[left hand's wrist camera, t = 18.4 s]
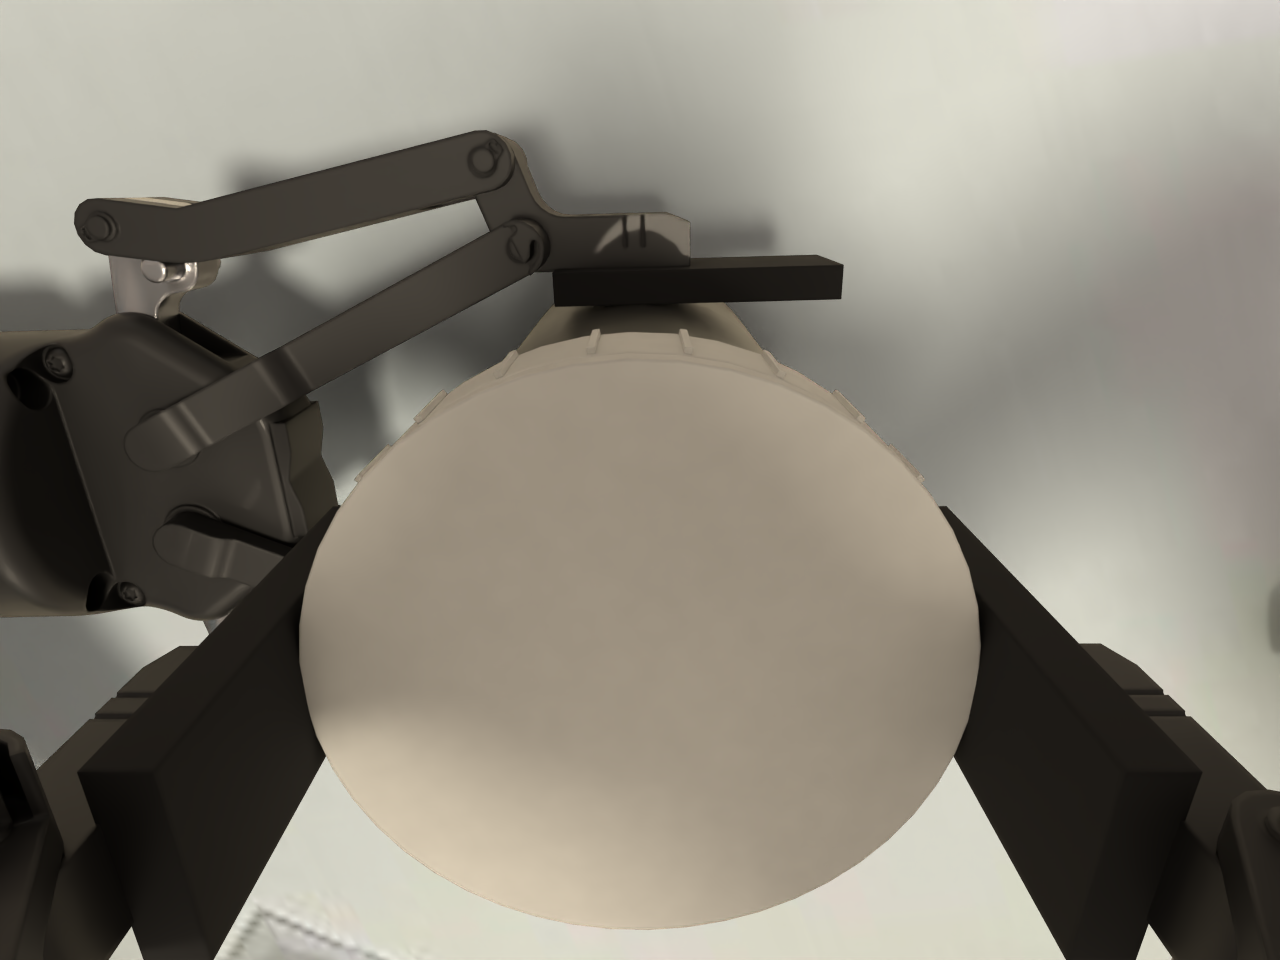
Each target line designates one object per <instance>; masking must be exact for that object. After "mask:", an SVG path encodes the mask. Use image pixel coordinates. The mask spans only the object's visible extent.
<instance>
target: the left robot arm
mask: <svg viewBox="0 0 1280 960" xmlns="http://www.w3.org/2000/svg"><path fill="white" fill-rule="evenodd" d="M340 507H341V506H333V507H332V508H331V509H330V510H329V511H328V512H327V513H326V514H325V515H324V516H323V517H322V518H321V519H320V520H319V521H318V522H317V523H316V524H315V526H314V527H313V528H312V529H311V530H310V531H309V532H308V533H307V534H306V535H305V536H304V537H303V538H302V539H301V540H300V541H299V542H298V543H297V544H296V545H295V546H294V547H293V548H292V549H291V550H290V551H289V552H288V554H287V555H286V556H285V557H284V558H283V559H282V560H281V561H280V562H279V563H278V564H277V565H276V566H275V567H274V568H273V569H272V570H271V571H270V572H269V573H268V574H267V575H266V576H265V577H264V578H263V579H262V580H261V582H260V583H259V584H258V585H257V586H256V587H255V588H254V589H253V590H252V591H251V592H250V593H249V594H248V595H247V596H246V597H245V598H244V599H243V600H242V601H241V602H240V603H239V604H238V605H237V606H236V607H235V608H234V609H233V611H232V612H231V613H230V614H229V615H228V616H227V617H226V618H225V619H224V620H223V621H222V622H221V623H220V624H219V625H218V626H217V627H216V628H215V629H214V630H213V631H212V632H211V633H210V634H209V635H208V636H207V637H206V639H205V640H204V641H203V642H202V643H201V644H200V645H199V646H179V647H177V648H175V649H174V650H172V651H170V652H169V653H167V654H165V655H164V656H162V657H160V658H158V659H157V660H155V661H153V662H152V663H150V664H148V665H147V666H145V667H143V668H142V669H141V670H140V671H139V672H138V673H137V674H136V675H135V676H134V677H133V678H132V679H131V680H130V681H129V682H128V683H127V684H126V685H124V686H123V687H122V688H121V689H120V690H119V691H118V692H117V697H116V698H111V699H110V700H109V701H108V702H107V703H106V704H105V705H104V706H103V707H102V708H101V709H100V710H99V711H98V712H96V713H95V718H94V719H89V720H88V721H87V722H86V723H85V724H84V725H83V726H82V727H81V728H80V729H79V730H78V731H77V732H76V733H75V734H74V735H73V736H72V737H71V738H70V739H69V740H67V741H66V742H65V743H64V744H63V745H62V746H61V747H60V748H59V749H58V750H57V751H56V752H55V753H54V754H53V755H52V756H51V757H50V758H49V759H48V760H47V761H46V762H45V763H44V764H43V765H42V766H41V767H39V768H38V769H37V770H36V768H35V766H34V763H33V761H32V758H31V755H30V753H29V750H28V747H27V745H26V742H25V740H24V738H23V737H22V736H20V735H18V734H17V733H15V732H13V731H12V730H6V729H0V960H109V958H110V957H111V955H112V954H113V952H114V951H115V950H116V948H117V947H118V945H119V944H120V942H121V941H122V939H123V938H124V936H125V935H126V934H127V932H128V931H129V929H130V928H131V926H132V928H133V931H134V934H135V937H136V940H137V942H138V945H139V948H140V951H141V954H142V956H143V959H144V960H214V958H215V956H216V954H217V953H218V951H219V949H220V947H221V945H222V944H223V942H224V940H225V938H226V936H227V934H228V933H229V931H230V929H231V927H232V925H233V924H234V922H235V920H236V918H237V916H238V915H239V913H240V911H241V909H242V907H243V906H244V904H245V902H246V900H247V898H248V896H249V895H250V893H251V891H252V889H253V887H254V886H255V884H256V882H257V880H258V878H259V877H260V875H261V873H262V871H263V869H264V867H265V866H266V864H267V862H268V860H269V858H270V857H271V855H272V853H273V851H274V849H275V848H276V846H277V844H278V842H279V840H280V839H281V837H282V835H283V833H284V831H285V829H286V828H287V826H288V824H289V822H290V820H291V819H292V817H293V815H294V813H295V811H296V810H297V808H298V806H299V804H300V802H301V801H302V799H303V797H304V795H305V793H306V791H307V790H308V788H309V786H310V784H311V782H312V781H313V779H314V777H315V775H316V773H317V772H318V770H319V768H320V766H321V764H322V762H323V761H324V759H325V757H326V754H325V752H324V750H323V748H322V746H321V744H320V742H319V740H318V738H317V736H316V733H315V730H314V727H313V724H312V720H311V717H310V713H309V708H308V704H307V699H306V694H305V689H304V684H303V679H302V673H301V668H300V663H299V623H300V617H301V611H302V604H303V598H304V592H305V586H306V583H307V580H308V577H309V574H310V571H311V568H312V565H313V562H314V559H315V556H316V553H317V550H318V547H319V545H320V543H321V541H322V540H323V538H324V536H325V534H326V532H327V530H328V528H329V526H330V524H331V522H332V520H333V518H334V516H335V514H336V512H337V511H338V509H339V508H340ZM938 507H939V508H940V510H941V512H942V513H943V515H944V517H945V518H946V520H947V521H948V523H949V525H950V526H951V528H952V529H953V531H954V534H955V536H956V539H957V541H958V543H959V545H960V548H961V551H962V553H963V555H964V558H965V560H966V563H967V565H968V567H969V571H970V575H971V579H972V584H973V588H974V592H975V596H976V600H977V605H978V614H979V627H980V641H981V650H980V662H979V670H978V675H977V681H976V686H975V691H974V696H973V701H972V705H971V710H970V715H969V720H968V723H967V725H966V728H965V730H964V733H963V735H962V737H961V740H960V742H959V745H958V747H957V750H956V752H955V754H954V758H955V760H956V762H957V763H958V765H959V767H960V769H961V771H962V772H963V774H964V776H965V778H966V780H967V781H968V783H969V785H970V787H971V789H972V790H973V792H974V794H975V796H976V798H977V800H978V801H979V803H980V805H981V807H982V809H983V810H984V812H985V814H986V816H987V818H988V819H989V821H990V823H991V825H992V827H993V829H994V830H995V832H996V834H997V836H998V838H999V839H1000V841H1001V843H1002V845H1003V847H1004V848H1005V850H1006V852H1007V854H1008V856H1009V857H1010V859H1011V861H1012V863H1013V865H1014V867H1015V868H1016V870H1017V872H1018V874H1019V876H1020V877H1021V879H1022V881H1023V883H1024V885H1025V886H1026V888H1027V890H1028V892H1029V894H1030V896H1031V897H1032V899H1033V901H1034V903H1035V905H1036V906H1037V908H1038V910H1039V912H1040V914H1041V915H1042V917H1043V919H1044V921H1045V923H1046V924H1047V926H1048V928H1049V930H1050V932H1051V934H1052V935H1053V937H1054V939H1055V941H1056V943H1057V944H1058V946H1059V948H1060V950H1061V952H1062V953H1063V955H1064V957H1065V959H1066V960H1136V958H1137V955H1138V952H1139V949H1140V946H1141V944H1142V941H1143V938H1144V935H1145V932H1146V930H1147V927H1148V924H1150V926H1151V927H1152V929H1153V930H1154V932H1155V933H1156V935H1157V936H1158V937H1159V939H1160V940H1161V942H1162V943H1163V945H1164V946H1165V948H1166V949H1167V950H1168V952H1169V953H1170V955H1171V956H1172V959H1171V960H1280V792H1278V791H1273V790H1267V789H1266V788H1265V787H1264V786H1263V785H1262V784H1261V783H1260V782H1259V781H1258V780H1257V779H1256V778H1254V777H1253V776H1252V775H1251V774H1250V773H1249V772H1248V771H1247V770H1246V769H1245V768H1244V767H1243V766H1242V765H1241V764H1240V763H1239V762H1238V761H1237V760H1236V759H1235V758H1234V757H1233V756H1232V755H1230V754H1229V753H1228V752H1227V751H1226V750H1225V749H1224V748H1223V747H1222V746H1221V745H1220V744H1219V743H1218V742H1217V741H1216V740H1215V739H1214V738H1213V737H1212V736H1211V735H1210V734H1209V733H1208V732H1206V731H1205V730H1204V729H1203V728H1202V727H1201V726H1200V725H1199V724H1198V723H1197V722H1196V721H1195V720H1194V719H1193V718H1192V717H1191V716H1186V715H1185V710H1184V709H1182V708H1181V707H1180V706H1179V705H1178V704H1177V703H1176V702H1175V701H1174V700H1173V699H1172V698H1171V697H1170V696H1169V695H1164V694H1163V689H1162V688H1161V687H1160V686H1158V685H1157V684H1156V683H1155V682H1154V681H1153V680H1152V679H1151V678H1150V677H1149V676H1148V675H1147V674H1146V673H1145V672H1144V671H1143V670H1142V669H1141V668H1140V667H1139V666H1138V665H1136V664H1135V663H1133V662H1131V661H1129V660H1128V659H1126V658H1124V657H1123V656H1121V655H1119V654H1117V653H1116V652H1114V651H1112V650H1111V649H1109V648H1107V647H1105V646H1104V645H1102V644H1079V643H1078V642H1077V641H1076V640H1075V639H1074V638H1073V637H1072V636H1071V635H1070V634H1069V633H1068V632H1067V631H1066V630H1065V629H1064V628H1063V627H1062V626H1061V625H1060V624H1059V622H1058V621H1057V620H1056V619H1055V618H1054V617H1053V616H1052V615H1051V614H1050V613H1049V612H1048V611H1047V610H1046V609H1045V608H1044V607H1043V606H1042V605H1041V604H1040V603H1039V602H1038V601H1037V600H1036V599H1035V598H1034V597H1033V596H1032V594H1031V593H1030V592H1029V591H1028V590H1027V589H1026V588H1025V587H1024V586H1023V585H1022V584H1021V583H1020V582H1019V581H1018V580H1017V579H1016V578H1015V577H1014V576H1013V575H1012V574H1011V573H1010V572H1009V571H1008V570H1007V569H1006V568H1005V566H1004V565H1003V564H1002V563H1001V562H1000V561H999V560H998V559H997V558H996V557H995V556H994V555H993V554H992V553H991V552H990V551H989V550H988V549H987V548H986V547H985V546H984V545H983V544H982V543H981V542H980V541H979V540H978V538H977V537H976V536H975V535H974V534H973V533H972V532H971V531H970V530H969V529H968V528H967V527H966V526H965V525H964V524H963V523H962V522H961V521H960V520H959V519H958V518H957V517H956V516H955V515H954V514H953V513H952V512H951V511H950V509H949V508H948V507H947V506H938Z"/></svg>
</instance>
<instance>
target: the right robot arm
mask: <svg viewBox="0 0 1280 960" xmlns="http://www.w3.org/2000/svg"><path fill="white" fill-rule="evenodd" d="M472 199H476V201H477V203H478V205H479V208H480V210H481V212H482V214H483V217H484V219H485V221H486V223H487V225H488V228H489V230H490V232H488V233H486V234H485V235H483V236H481V237H479V238H477V239H476V240H474V241H472V242H470V243H468V244H466V245H465V246H463V247H461V248H459V249H457V250H456V251H454V252H452V253H450V254H448V255H447V256H445V257H443V258H441V259H439V260H437V261H436V262H434V263H432V264H430V265H428V266H427V267H425V268H423V269H421V270H419V271H417V272H416V273H414V274H412V275H410V276H408V277H407V278H405V279H403V280H401V281H399V282H398V283H396V284H394V285H392V286H390V287H388V288H387V289H385V290H383V291H381V292H379V293H378V294H376V295H374V296H372V297H370V298H369V299H367V300H365V301H363V302H361V303H359V304H358V305H356V306H354V307H352V308H350V309H349V310H347V311H345V312H343V313H341V314H339V315H338V316H336V317H334V318H332V319H330V320H329V321H327V322H325V323H323V324H321V325H320V326H318V327H316V328H314V329H312V330H310V331H309V332H307V333H305V334H303V335H301V336H300V337H298V338H296V339H294V340H292V341H291V342H289V343H287V344H285V345H283V346H281V347H279V348H277V349H276V350H274V351H272V352H270V353H268V354H266V355H264V356H262V357H260V358H257V357H256V356H254V355H252V354H250V353H249V352H247V351H245V350H244V349H242V348H240V347H239V346H237V345H235V344H234V343H232V342H230V341H229V340H227V339H225V338H224V337H222V336H220V335H219V334H217V333H215V332H214V331H212V330H210V329H209V328H207V327H205V326H204V325H202V324H200V323H199V322H197V321H195V320H194V319H192V318H190V317H189V316H187V315H185V314H184V313H182V312H179V305H180V301H181V299H182V297H183V296H184V295H185V293H186V292H188V291H191V290H195V289H199V288H204V287H207V286H209V285H211V284H212V283H213V282H214V281H215V279H216V277H217V275H218V270H219V268H220V266H221V260H220V259H222V258H228V257H234V256H240V255H246V254H252V253H258V252H263V251H269V250H273V249H277V248H281V247H285V246H289V245H293V244H297V243H301V242H305V241H309V240H313V239H317V238H321V237H325V236H329V235H333V234H337V233H341V232H345V231H349V230H353V229H357V228H361V227H365V226H369V225H373V224H377V223H381V222H385V221H389V220H393V219H397V218H401V217H405V216H409V215H412V214H416V213H420V212H424V211H428V210H432V209H436V208H440V207H444V206H448V205H452V204H456V203H460V202H464V201H468V200H472ZM74 225H75V228H76V231H77V233H78V236H79V237H80V238H81V240H82V241H83V242H84V244H85V245H86V246H88V247H89V248H91V249H92V250H93V251H95V252H97V253H101V254H104V255H108V256H109V263H110V270H111V278H112V285H113V293H114V300H115V307H116V314H115V315H112V316H110V317H108V318H106V319H104V320H102V321H101V322H100V323H98V324H97V325H96V326H95V327H93V328H91V329H81V330H44V331H8V332H0V617H43V616H82V615H92V614H99V613H106V612H111V611H117V610H122V609H128V608H134V607H142V606H150V607H156V608H160V609H164V610H167V611H170V612H173V613H176V614H178V615H180V616H183V617H185V618H188V619H192V620H198V621H203V622H204V624H205V626H206V628H207V630H208V633H209V634H210V633H211V632H212V631H213V630H214V629H215V628H216V627H217V626H218V625H219V624H220V623H221V622H222V621H223V620H224V619H225V618H226V617H227V616H228V615H229V614H230V613H231V612H232V611H233V609H234V608H235V607H236V606H237V605H238V604H239V603H240V602H241V601H242V600H243V599H244V598H245V597H246V596H247V595H248V594H249V593H250V592H251V591H252V590H253V589H254V588H255V587H256V586H257V585H258V584H259V583H260V582H261V580H262V579H263V578H264V577H265V576H266V575H267V574H268V573H269V572H270V571H271V570H272V569H273V568H274V567H275V566H276V565H277V564H278V563H279V562H280V561H281V560H282V559H283V558H284V557H285V556H286V555H287V554H288V552H289V551H290V550H291V549H292V548H293V547H294V546H295V545H296V544H297V543H298V542H299V541H300V540H301V539H302V538H303V537H304V536H305V535H306V534H307V533H308V532H309V531H310V530H311V529H312V528H313V527H314V526H315V524H316V523H317V522H318V521H319V520H320V519H321V518H322V517H323V516H324V515H325V514H326V513H327V512H328V511H329V510H330V509H331V508H332V507H333V506H341V505H338V502H337V497H336V491H335V486H334V481H333V479H332V477H331V475H330V473H329V471H328V469H327V467H326V465H325V462H324V460H323V458H322V456H321V448H322V437H323V424H322V419H321V414H320V408H319V403H318V401H309V400H308V398H307V396H306V394H308V393H310V392H311V391H313V390H315V389H317V388H319V387H321V386H323V385H324V384H326V383H328V382H330V381H332V380H334V379H336V378H337V377H339V376H341V375H343V374H345V373H347V372H349V371H351V370H352V369H354V368H356V367H358V366H360V365H362V364H364V363H366V362H367V361H369V360H371V359H373V358H375V357H377V356H379V355H380V354H382V353H384V352H386V351H388V350H390V349H392V348H394V347H395V346H397V345H399V344H401V343H403V342H405V341H407V340H409V339H410V338H412V337H414V336H416V335H418V334H420V333H422V332H424V331H425V330H427V329H429V328H431V327H433V326H435V325H437V324H438V323H440V322H442V321H444V320H446V319H448V318H450V317H452V316H453V315H455V314H457V313H459V312H461V311H463V310H465V309H467V308H468V307H470V306H472V305H474V304H476V303H478V302H480V301H482V300H483V299H485V298H487V297H489V296H491V295H493V294H495V293H496V292H498V291H500V290H502V289H504V288H506V287H508V286H510V285H511V284H513V283H515V282H517V281H519V280H521V279H523V278H525V277H526V276H528V275H532V274H533V273H534V272H553V273H552V274H553V289H554V304H555V307H574V306H611V305H647V304H683V303H720V302H756V301H792V300H829V299H841V295H842V281H843V267H844V265H843V264H840V263H837V262H835V261H832V260H829V259H827V258H824V257H821V256H819V255H791V256H755V257H720V258H690V222H689V221H687V220H685V219H683V218H680V217H678V216H675V215H673V214H670V213H667V212H647V213H612V214H577V215H569V214H562V213H559V212H557V211H555V210H553V209H552V208H550V207H549V206H548V205H547V204H546V203H545V202H544V201H543V200H542V198H541V196H540V194H539V192H538V190H537V188H536V185H535V183H534V180H533V178H532V176H531V173H530V171H529V168H528V166H527V158H526V156H525V154H524V151H523V149H522V148H521V147H520V146H519V145H518V144H517V143H516V142H515V141H513V140H510V139H508V138H506V137H504V136H501V135H499V134H496V133H492V132H489V131H487V130H481V131H472V132H468V133H464V134H461V135H457V136H453V137H449V138H445V139H441V140H437V141H434V142H430V143H426V144H422V145H418V146H414V147H410V148H407V149H403V150H399V151H395V152H391V153H387V154H383V155H380V156H376V157H372V158H368V159H364V160H360V161H356V162H353V163H349V164H345V165H341V166H337V167H333V168H329V169H326V170H322V171H318V172H314V173H310V174H306V175H302V176H299V177H295V178H291V179H287V180H283V181H279V182H275V183H272V184H268V185H264V186H260V187H256V188H252V189H248V190H245V191H241V192H237V193H233V194H229V195H225V196H222V197H218V198H214V199H210V200H206V201H202V202H198V201H190V200H183V199H175V198H167V197H143V198H95V199H87V200H85V201H84V202H82V203H81V204H79V206H78V208H77V210H76V211H75V217H74Z"/></svg>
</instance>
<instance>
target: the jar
mask: <svg viewBox="0 0 1280 960" xmlns="http://www.w3.org/2000/svg"><path fill="white" fill-rule="evenodd" d="M594 329H600V334H601V335H604V334H614V333H624V332H642V333H671V334H679V330H680V329H686V330H687V331H688V334H689V336H691V337H697V338H703V339H709V340H715V341H719V342H723V343H726V344H729V345H732V346H736V347H739V348H742V349H745V350H749V351H752V352H755V353H758V354H762V351H763V350H762V349H761V347H760V346H759V345H758V344H757V342H756V341H755V340H754V338H753V337H752V336H751V334H750V333H749V332H748V330H747V329H746V328H745V326H744V325H743V324H742V322H741V321H740V320H739V319H738V317H737V316H736V315H735V314H734V312H733V311H732V310H731V309H730V308H729V307H728V306H727V305H726V304H725V303H724V302H720V303H683V304H647V305H611V306H574V307H555V304H554V305H552V306H551V308H550V309H549V310H548V311H547V312H546V313H545V315H544V316H543V317H542V318H541V319H540V321H539V322H538V323H537V324H536V326H535V327H534V328H533V330H532V331H531V332H530V334H529V335H528V336H527V338H526V339H525V340H524V342H523V343H522V344H521V345H520V347H519V348H518V349H517V353H518V355H520V354H523V353H526V352H528V351H531V350H533V349H536V348H539V347H541V346H546V345H550V344H554V343H558V342H563V341H567V340H571V339H576V338H580V337H584V336H590V335H591V333H592V330H594Z"/></svg>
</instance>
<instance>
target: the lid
mask: <svg viewBox="0 0 1280 960" xmlns="http://www.w3.org/2000/svg"><path fill="white" fill-rule="evenodd" d="M865 419H866V418H865V417H864V416H863V415H862V414H861V413H860V412H859V411H858V410H857V409H856V408H855V407H854V406H853V405H852V404H851V403H850V402H849V401H848V400H847V399H846V398H845V397H844V396H843V395H842V394H841V393H840V392H839V391H837V390H835V391H834V392H833V393H830V392H829V391H827V390H826V389H824V388H822V387H821V386H819V385H818V384H816V383H815V382H813V381H812V380H810V379H809V378H807V377H805V376H804V375H802V374H801V373H799V372H797V371H795V370H793V369H791V368H789V367H787V366H785V365H782V364H780V363H778V362H777V361H776V359H775V358H774V357H773V356H772V354H771V353H770V352H768V351H766V350H763V351H762V354H758V353H755V352H752V351H749V350H745V349H742V348H739V347H736V346H732V345H729V344H726V343H723V342H719V341H715V340H709V339H703V338H697V337H691V336H689V334H688V331H687V330H686V329H680V330H679V334H671V333H642V332H624V333H614V334H604V335H601V334H600V329H594V330H592V333H591V335H590V336H584V337H580V338H576V339H571V340H567V341H563V342H558V343H554V344H550V345H546V346H541V347H539V348H536V349H533V350H531V351H528V352H526V353H523V354H520V355H518V353H517V351H516V350H513V351H511V352H509V353H508V355H507V356H506V357H505V359H504V360H503V361H502V362H500V363H498V364H496V365H494V366H492V367H491V368H489V369H487V370H485V371H483V372H482V373H480V374H478V375H476V376H474V377H472V378H471V379H469V380H467V381H465V382H463V383H462V384H461V385H459V386H458V387H457V388H455V389H454V390H453V391H451V392H450V393H449V394H447V393H446V392H445V391H444V390H442V391H441V392H439V393H438V394H437V395H436V396H435V397H434V398H433V399H432V400H431V401H430V402H429V403H428V404H427V405H426V406H425V407H424V408H423V410H422V411H421V412H420V413H419V414H418V415H417V416H416V417H415V418H414V420H415V421H416V422H415V423H414V424H413V425H412V426H411V427H410V428H409V429H408V430H407V431H406V432H405V433H404V434H403V435H402V436H401V437H400V438H399V439H398V440H397V441H396V442H395V443H394V445H393V446H390V445H389V444H388V445H387V446H386V447H385V448H384V449H383V450H382V451H381V452H380V453H379V454H378V455H377V456H376V457H375V458H374V459H373V460H372V461H371V462H370V463H369V464H368V465H367V466H366V467H365V468H364V469H363V470H362V471H361V472H360V473H359V474H358V475H357V477H356V478H355V481H356V482H358V484H357V485H356V486H355V488H354V489H353V490H352V492H351V493H350V495H349V496H348V497H347V499H346V500H345V501H344V503H343V504H342V505H341V507H340V508H339V509H338V511H337V512H336V514H335V516H334V518H333V520H332V522H331V524H330V526H329V528H328V530H327V532H326V534H325V536H324V538H323V540H322V541H321V543H320V545H319V547H318V550H317V553H316V556H315V559H314V562H313V565H312V568H311V571H310V574H309V577H308V580H307V583H306V586H305V592H304V598H303V604H302V611H301V617H300V623H299V663H300V668H301V673H302V679H303V684H304V689H305V694H306V699H307V704H308V708H309V713H310V717H311V720H312V724H313V727H314V730H315V733H316V736H317V738H318V740H319V742H320V744H321V746H322V748H323V750H324V752H325V754H326V756H327V758H328V761H329V763H330V765H331V767H332V769H333V770H334V772H335V773H336V775H337V776H338V778H339V779H340V781H341V782H342V784H343V785H344V787H345V788H346V790H347V791H348V793H349V794H350V796H351V797H352V799H353V800H354V801H355V802H356V803H357V804H358V806H359V807H360V808H361V809H362V810H363V811H364V812H365V814H366V815H367V816H368V817H369V818H370V819H371V820H372V822H373V823H374V824H375V825H376V826H377V827H378V828H379V829H380V830H381V831H382V832H384V833H385V834H386V835H387V836H388V837H389V838H390V839H391V840H392V841H394V842H395V843H396V844H397V845H398V846H399V847H400V848H401V849H402V850H404V851H405V852H406V853H408V854H409V855H410V856H412V857H413V858H415V859H416V860H417V861H419V862H420V863H422V864H423V865H425V866H426V867H427V868H429V869H430V870H432V871H433V872H434V873H436V874H438V875H440V876H442V877H443V878H445V879H447V880H449V881H451V882H452V883H454V884H456V885H458V886H460V887H461V888H463V889H465V890H467V891H469V892H471V893H474V894H476V895H478V896H481V897H483V898H485V899H488V900H490V901H492V902H495V903H497V904H499V905H502V906H505V907H508V908H511V909H514V910H517V911H521V912H524V913H527V914H530V915H533V916H536V917H541V918H545V919H550V920H555V921H560V922H564V923H569V924H574V925H582V926H591V927H599V928H608V929H636V930H653V929H668V928H682V927H691V926H697V925H703V924H709V923H715V922H721V921H726V920H730V919H734V918H737V917H741V916H745V915H749V914H753V913H756V912H760V911H763V910H766V909H768V908H771V907H774V906H776V905H779V904H782V903H784V902H787V901H790V900H793V899H795V898H797V897H799V896H801V895H803V894H805V893H807V892H810V891H812V890H814V889H816V888H818V887H820V886H822V885H824V884H826V883H828V882H830V881H831V880H833V879H834V878H836V877H838V876H839V875H841V874H842V873H844V872H846V871H847V870H849V869H850V868H852V867H853V866H855V865H857V864H858V863H860V862H861V861H862V860H864V859H865V858H866V857H867V856H869V855H870V854H871V853H872V852H874V851H875V850H876V849H877V848H879V847H880V846H881V845H883V844H884V843H885V842H886V841H888V840H889V839H890V838H891V837H892V836H893V835H894V834H895V833H896V832H897V831H898V830H899V829H900V828H901V827H902V826H903V825H904V824H905V823H906V822H907V821H908V820H909V819H910V818H911V817H912V816H913V815H914V814H915V812H916V811H917V810H918V808H919V807H920V806H921V805H922V803H923V802H924V801H925V799H926V798H927V797H928V795H929V794H930V793H931V792H932V790H933V789H934V788H935V786H936V785H937V784H938V782H939V780H940V778H941V777H942V775H943V773H944V771H945V770H946V768H947V766H948V765H949V763H950V761H951V759H952V758H953V756H954V754H955V752H956V750H957V747H958V745H959V742H960V740H961V737H962V735H963V733H964V730H965V728H966V725H967V723H968V720H969V715H970V710H971V705H972V701H973V696H974V691H975V686H976V681H977V675H978V670H979V662H980V650H981V641H980V627H979V614H978V605H977V600H976V596H975V592H974V588H973V584H972V579H971V575H970V571H969V567H968V565H967V563H966V560H965V558H964V555H963V553H962V551H961V548H960V545H959V543H958V541H957V539H956V536H955V534H954V531H953V529H952V528H951V526H950V525H949V523H948V521H947V520H946V518H945V517H944V515H943V513H942V512H941V510H940V508H939V507H938V505H937V504H936V502H935V500H934V499H933V497H932V495H931V494H930V493H929V492H928V490H927V489H926V488H925V487H924V486H923V485H922V482H923V481H924V480H925V479H924V477H923V476H922V475H921V474H920V473H919V472H918V471H917V470H916V469H915V468H914V467H913V466H912V465H911V464H910V463H909V461H908V460H907V459H906V458H905V457H904V456H903V455H902V454H901V453H900V452H899V451H898V450H897V449H896V448H895V447H894V446H893V445H892V444H890V445H889V446H887V445H886V444H885V442H884V441H883V440H882V439H881V438H880V437H879V436H878V435H877V434H876V433H875V432H874V431H873V430H872V429H871V428H870V427H869V426H868V425H867V424H866V423H865V422H864V420H865Z"/></svg>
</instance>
